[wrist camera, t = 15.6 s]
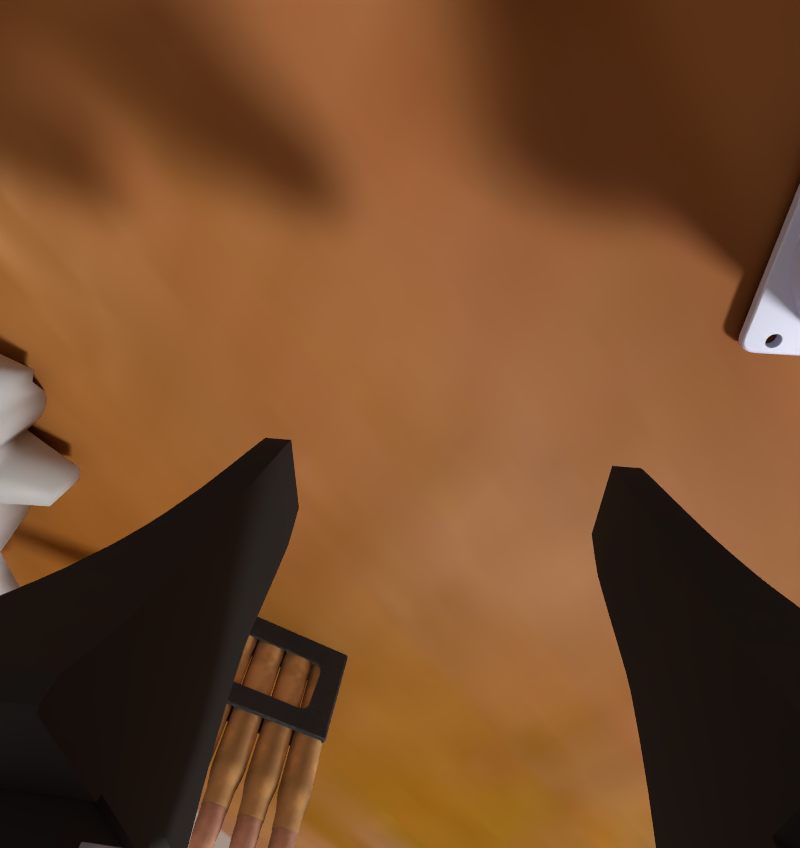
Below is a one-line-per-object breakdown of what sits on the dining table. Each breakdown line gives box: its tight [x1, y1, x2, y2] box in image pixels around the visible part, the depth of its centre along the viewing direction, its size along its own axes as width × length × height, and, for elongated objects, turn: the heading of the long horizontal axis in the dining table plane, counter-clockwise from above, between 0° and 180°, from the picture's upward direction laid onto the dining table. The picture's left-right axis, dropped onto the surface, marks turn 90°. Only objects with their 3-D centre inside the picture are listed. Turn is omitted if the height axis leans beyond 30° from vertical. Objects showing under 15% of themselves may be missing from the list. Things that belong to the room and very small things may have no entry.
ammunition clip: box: [189, 617, 347, 848], centre depth 27 cm, size 11×2×12 cm, turn 61°
